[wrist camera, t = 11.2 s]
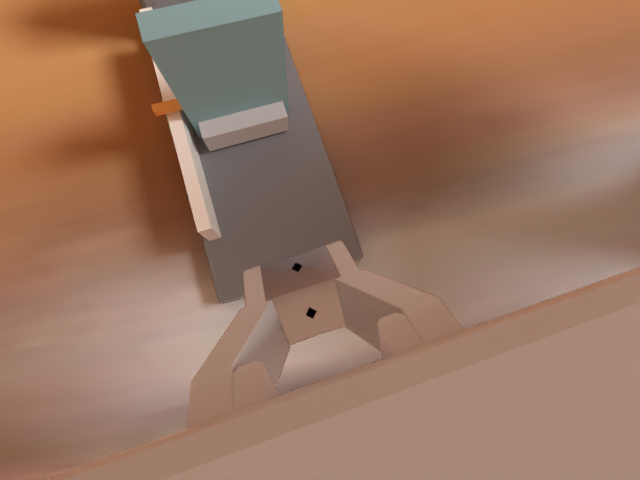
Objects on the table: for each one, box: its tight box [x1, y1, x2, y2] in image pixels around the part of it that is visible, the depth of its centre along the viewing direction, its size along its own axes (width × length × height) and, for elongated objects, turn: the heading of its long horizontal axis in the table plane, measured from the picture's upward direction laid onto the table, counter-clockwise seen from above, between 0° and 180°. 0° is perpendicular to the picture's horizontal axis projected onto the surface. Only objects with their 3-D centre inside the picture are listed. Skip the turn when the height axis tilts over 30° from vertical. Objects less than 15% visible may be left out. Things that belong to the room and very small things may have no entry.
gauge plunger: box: [135, 0, 289, 151], centre depth 23 cm, size 10×5×10 cm, turn 108°
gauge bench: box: [139, 0, 363, 303], centre depth 24 cm, size 12×30×12 cm, turn 18°
